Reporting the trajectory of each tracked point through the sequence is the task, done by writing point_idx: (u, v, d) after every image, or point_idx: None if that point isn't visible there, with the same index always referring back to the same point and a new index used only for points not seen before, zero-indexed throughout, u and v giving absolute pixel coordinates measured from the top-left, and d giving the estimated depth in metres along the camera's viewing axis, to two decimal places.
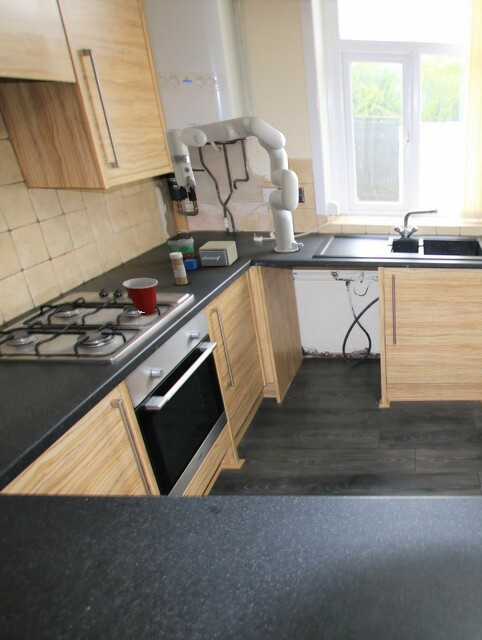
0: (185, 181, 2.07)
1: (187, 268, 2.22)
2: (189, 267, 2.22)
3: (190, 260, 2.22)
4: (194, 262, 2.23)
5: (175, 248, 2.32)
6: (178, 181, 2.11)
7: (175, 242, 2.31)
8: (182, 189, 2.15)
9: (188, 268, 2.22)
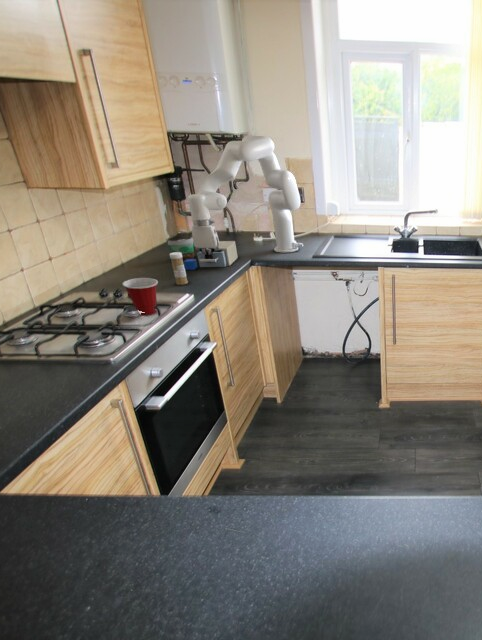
0: (214, 247, 2.17)
1: (187, 268, 2.22)
2: (189, 267, 2.22)
3: (190, 260, 2.22)
4: (194, 262, 2.23)
5: (175, 248, 2.32)
6: (201, 244, 2.15)
7: (175, 242, 2.31)
8: (207, 254, 2.19)
9: (188, 268, 2.22)
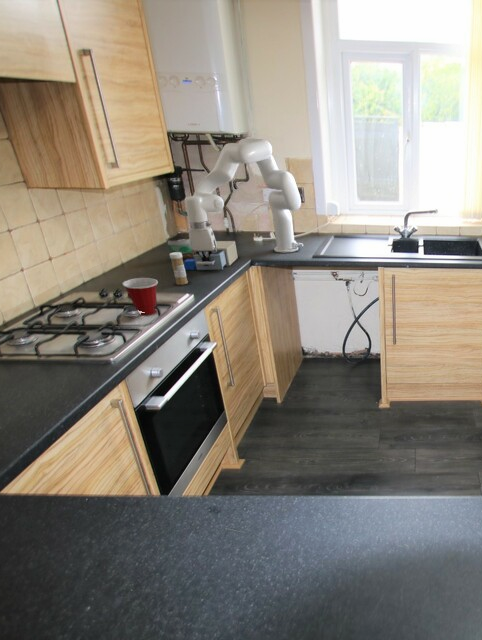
0: (211, 249, 2.13)
1: (187, 268, 2.22)
2: (189, 267, 2.22)
3: (190, 260, 2.22)
4: (194, 262, 2.23)
5: (175, 248, 2.32)
6: (198, 246, 2.11)
7: (175, 242, 2.31)
8: (204, 256, 2.15)
9: (188, 268, 2.22)
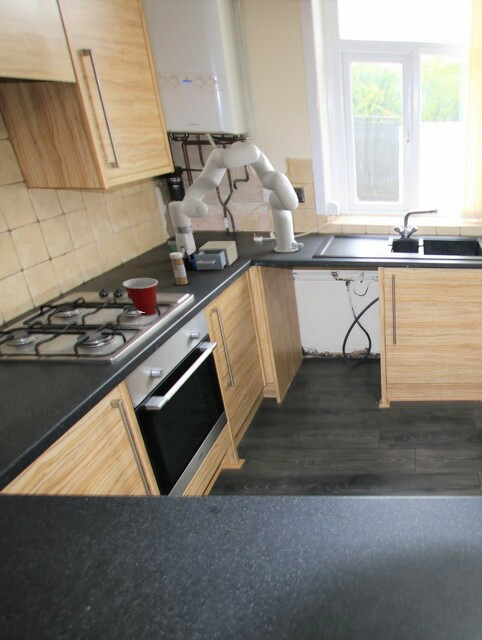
0: None
1: None
2: None
3: None
4: (194, 262, 2.23)
5: (175, 248, 2.32)
6: (191, 250, 2.19)
7: (175, 242, 2.31)
8: None
9: None
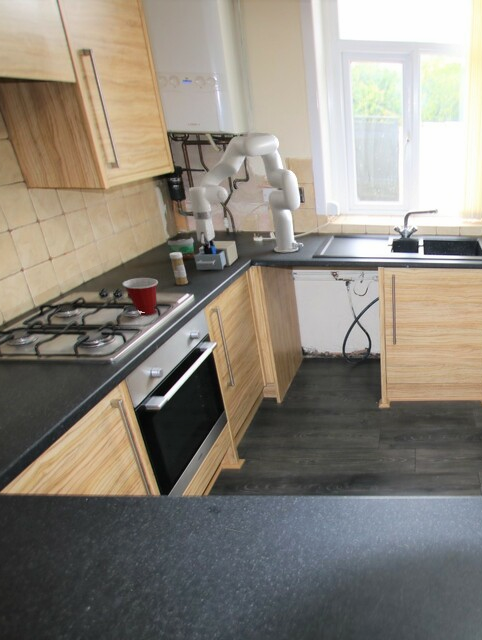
0: None
1: None
2: None
3: None
4: (213, 249, 2.21)
5: (175, 248, 2.32)
6: (211, 236, 2.17)
7: (175, 242, 2.31)
8: None
9: None
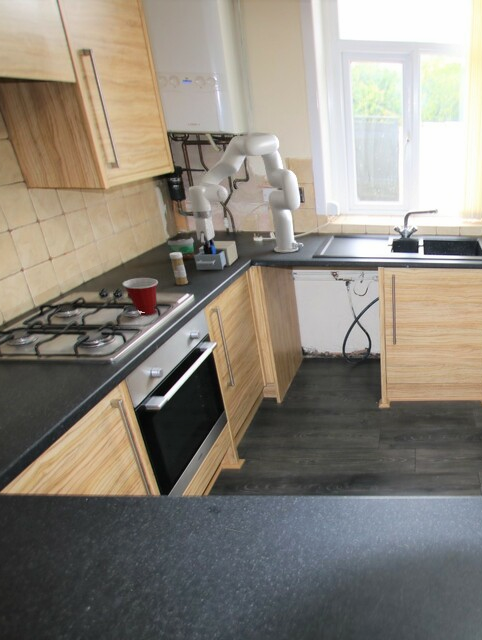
0: None
1: None
2: None
3: None
4: (213, 248, 2.20)
5: (175, 248, 2.32)
6: (210, 235, 2.17)
7: (175, 242, 2.31)
8: None
9: None
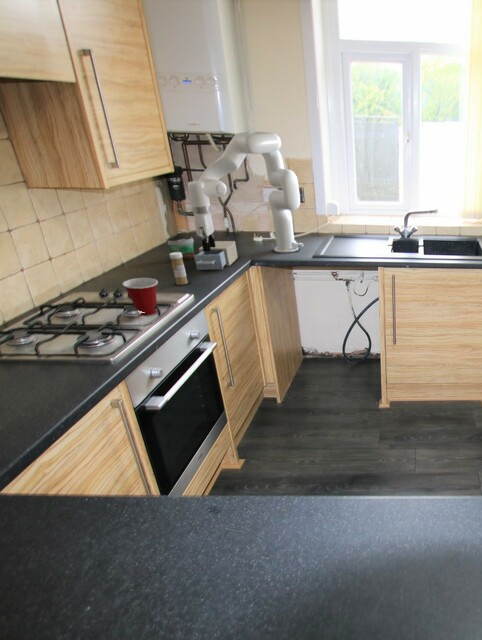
0: None
1: None
2: None
3: None
4: None
5: (175, 248, 2.32)
6: (210, 231, 2.16)
7: (175, 242, 2.31)
8: None
9: None
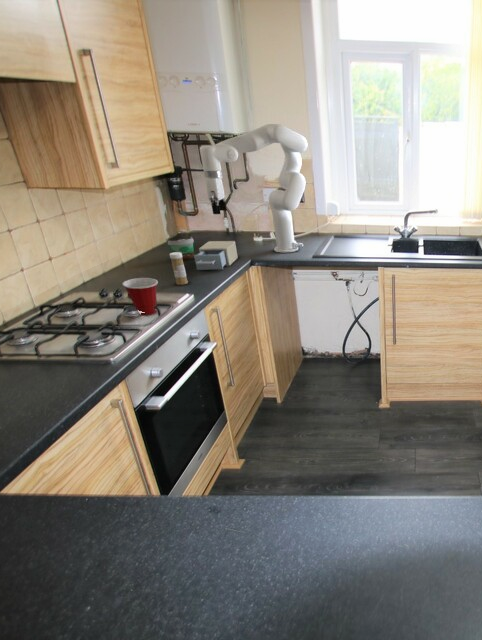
0: None
1: None
2: None
3: None
4: None
5: (175, 248, 2.32)
6: (221, 195, 2.21)
7: (175, 242, 2.31)
8: None
9: None
